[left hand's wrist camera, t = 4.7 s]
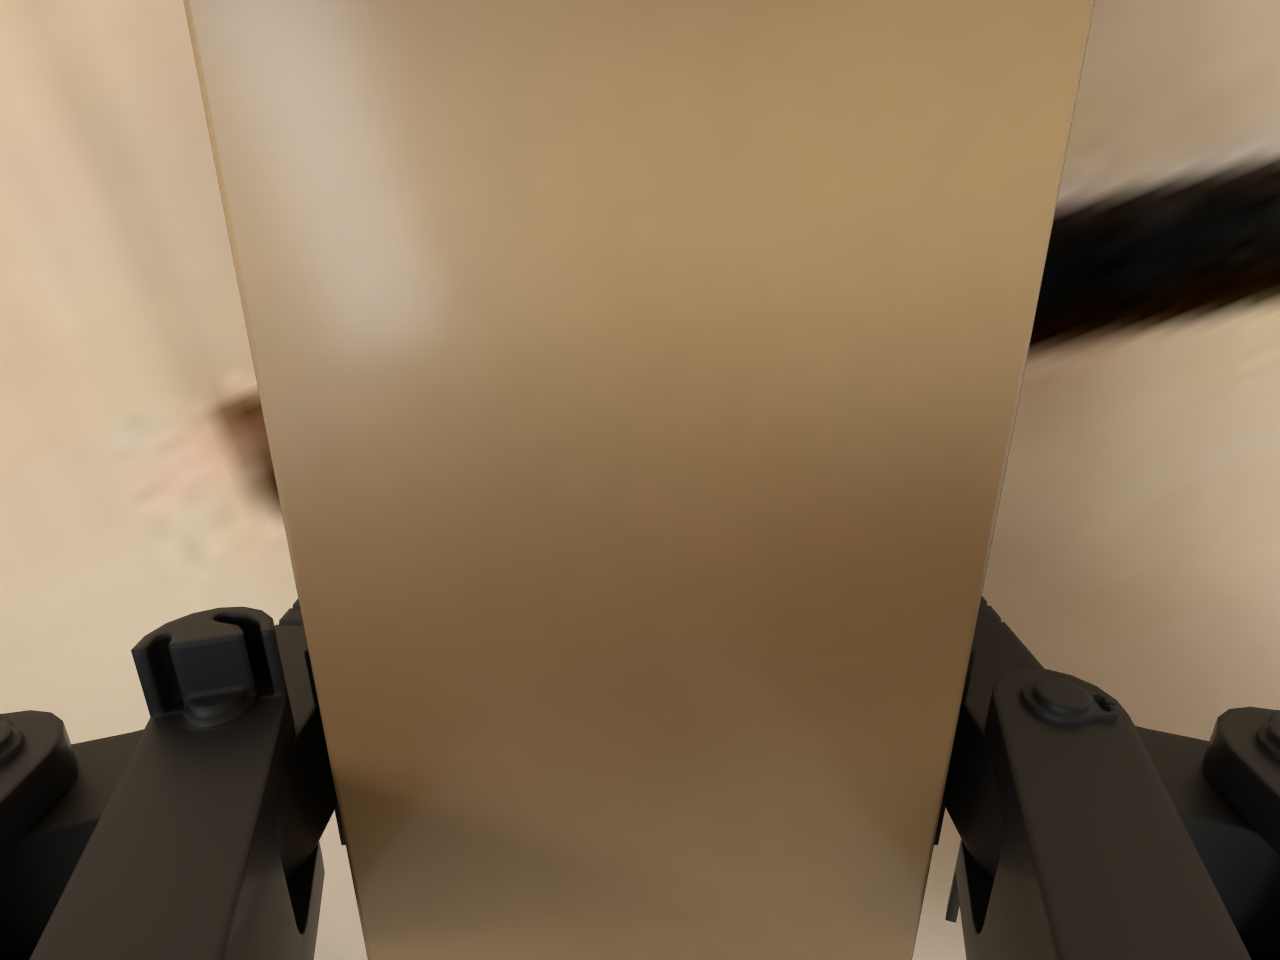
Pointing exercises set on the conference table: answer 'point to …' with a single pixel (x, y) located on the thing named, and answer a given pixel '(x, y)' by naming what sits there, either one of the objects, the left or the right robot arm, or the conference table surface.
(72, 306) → the conference table surface
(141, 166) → the conference table surface
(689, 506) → the post
